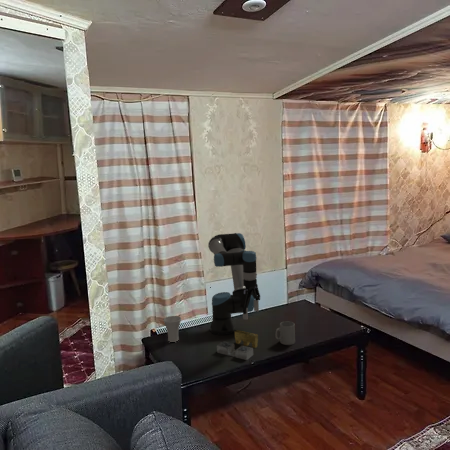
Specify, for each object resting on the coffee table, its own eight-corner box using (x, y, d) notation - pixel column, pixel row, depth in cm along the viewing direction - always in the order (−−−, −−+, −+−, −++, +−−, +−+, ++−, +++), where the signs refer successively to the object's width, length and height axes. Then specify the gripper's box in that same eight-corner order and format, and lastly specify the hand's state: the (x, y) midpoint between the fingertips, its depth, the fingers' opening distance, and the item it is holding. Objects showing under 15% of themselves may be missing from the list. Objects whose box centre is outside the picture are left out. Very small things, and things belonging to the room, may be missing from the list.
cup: (184, 337, 250) (183, 316, 248) (178, 345, 240) (177, 322, 238) (168, 336, 253) (167, 315, 251) (161, 343, 243) (160, 321, 241)
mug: (290, 338, 244) (289, 320, 242) (297, 343, 236) (297, 325, 234) (272, 341, 239) (271, 323, 238) (279, 347, 231) (279, 328, 230)
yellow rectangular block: (235, 343, 239) (234, 331, 238) (237, 341, 242) (237, 329, 241) (255, 348, 232) (255, 336, 231) (258, 346, 234) (257, 334, 233)
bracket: (217, 352, 228) (216, 345, 228) (224, 347, 234) (223, 341, 233) (246, 360, 218) (246, 353, 217) (253, 355, 224) (253, 348, 223)
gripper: (245, 285, 220) (246, 323, 223) (265, 273, 241) (266, 308, 244) (233, 283, 224) (234, 321, 227) (254, 272, 245) (255, 307, 248)
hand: (251, 314), depth 235 cm, fingers open, 13 cm apart
